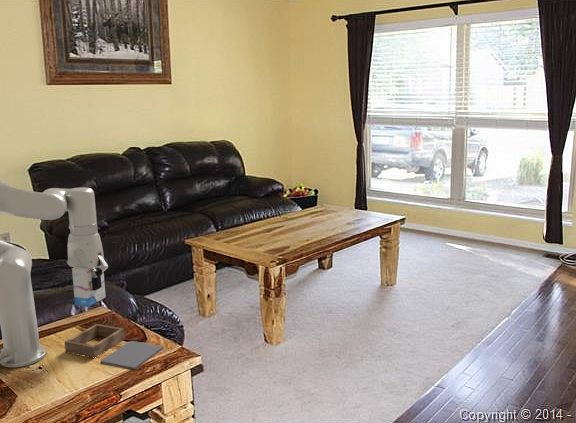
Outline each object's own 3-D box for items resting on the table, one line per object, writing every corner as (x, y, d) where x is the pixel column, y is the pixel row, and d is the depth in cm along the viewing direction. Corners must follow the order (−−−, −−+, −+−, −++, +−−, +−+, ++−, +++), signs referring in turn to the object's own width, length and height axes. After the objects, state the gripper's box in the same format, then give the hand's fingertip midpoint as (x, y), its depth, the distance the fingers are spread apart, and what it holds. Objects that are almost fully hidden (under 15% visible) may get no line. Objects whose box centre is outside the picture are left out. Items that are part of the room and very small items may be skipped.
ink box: (88, 307, 164) (84, 269, 162) (74, 305, 166) (70, 267, 163) (106, 297, 172) (103, 260, 170) (93, 295, 174) (89, 259, 171)
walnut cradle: (94, 358, 164) (93, 347, 163) (65, 352, 168) (64, 341, 167) (125, 338, 176) (124, 328, 176) (97, 333, 180) (96, 323, 180)
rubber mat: (134, 369, 157) (134, 367, 156) (100, 362, 161) (100, 360, 161) (163, 348, 169) (163, 346, 169) (131, 342, 174) (131, 340, 174)
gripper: (52, 230, 164) (58, 288, 168) (98, 235, 158) (103, 295, 161) (70, 224, 171) (76, 280, 175) (115, 228, 164) (120, 287, 168)
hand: (89, 287), depth 168 cm, fingers closed on ink box, 5 cm apart
